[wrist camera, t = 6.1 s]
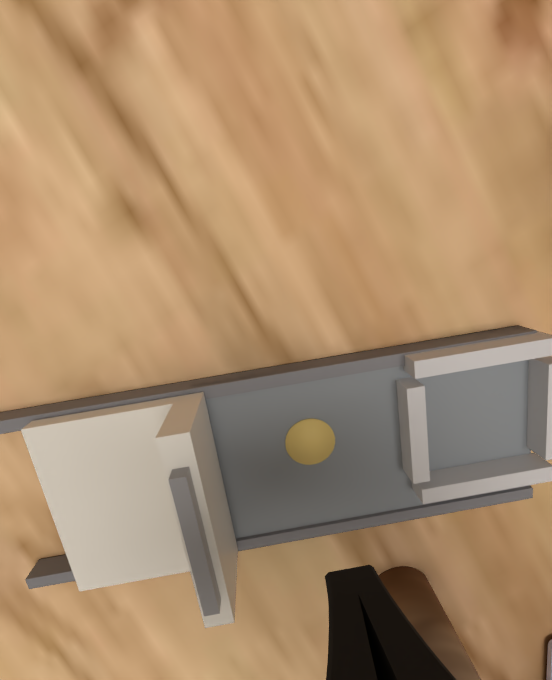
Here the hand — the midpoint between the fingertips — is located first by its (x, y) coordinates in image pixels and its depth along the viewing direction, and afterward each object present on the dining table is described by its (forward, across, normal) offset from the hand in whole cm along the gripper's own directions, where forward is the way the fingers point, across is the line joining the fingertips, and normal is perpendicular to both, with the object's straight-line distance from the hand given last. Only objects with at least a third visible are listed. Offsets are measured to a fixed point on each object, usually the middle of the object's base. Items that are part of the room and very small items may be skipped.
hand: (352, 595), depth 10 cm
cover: (+7, +8, 0) cm, 11 cm away
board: (+8, +2, 0) cm, 8 cm away
